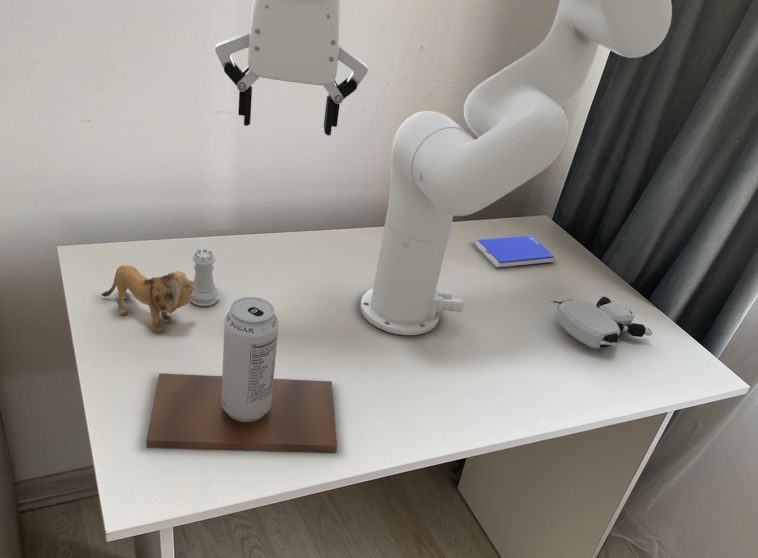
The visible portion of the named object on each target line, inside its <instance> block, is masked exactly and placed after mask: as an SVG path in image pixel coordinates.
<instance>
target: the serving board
mask: <svg viewBox="0 0 758 558" xmlns="http://www.w3.org/2000/svg"><path fill="white" fill-rule="evenodd" d="M155 388H156V390H155V395H154V399H153V403H152V407H151V408H152V409H151V415H150V419H149V424H148V429H147V435H146V440H145V444H146V445H145V446H146V448H147V449H148V448H150V449H151V448H152V449H154V448H155V449H156V448H157V449H186V450H187V449H189V450H190V449H192V450H225V451H226V450H228V451H229V450H230V451H265V452H266V451H268V452H269V451H270V452H300V453H301V452H304V453H306V452H308V453H337V451H338V439H337V438H338V437H337V427H336V416H335V406H334V404H335V403H334V392H333V382H332V380H309V379H292V378H291V379H290V378H274V379H273V390H272V401H271V407H270V409H269V411H268V412H267V413H266V414H264V416H263V417H261V418H260V419H258V420H256V421H252V422H242V421H238V420H235V419H233V418H231V417H230V416H229V415H228V414H227V412H226V411H225V410H224V409H223V407H222V403H221V400H222V375H205V374H203V375H202V374H186V373H185V374H182V373H163V372H161V373H160V372H159V373H158V378H157V383H156V387H155Z"/></svg>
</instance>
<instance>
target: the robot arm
mask: <svg viewBox="0 0 758 558" xmlns="http://www.w3.org/2000/svg"><path fill="white" fill-rule="evenodd" d="M556 10H557V11H556V14H555V17H554V21H553V23H552V26H551V28H550V30H549V32H548V34H547V36H546V37H545V39H543V41H542V42H541V43H539V45H537V46H536V47H535V48H533V49H532V50H530V51H529V52H528V53H526V54H525V55H524V56H522V57H520V58H519V59H517V60H516V61H514V62H512V63H511V64H509V65H508V66H506V67H504V68H503V69H500V70H499V71H498V72H496V73H495V74H493V75H491V76H489V77H487V79H485V80H483V81H482V82H481V83H479V84H478V85H477V86H476V87H474V88H473V89H472V90H471V92H470V93H469V94H468V95H467V97H466V99H465V100H464V101H465V102H464V105H463V117H464V120H465V122H466V124H467V126H468V128H469V129H470V130H471V131H472V133H474V135H475V136H476V137H477V138H474V137H473V136H472V135H470V134H469V133H468V132H467V131H466V130H465V129H464V128H463V127H462V126H460V125H459V124H458V123H457V122H455V120H453V119H452V118H451V117H449V116H447V115H445V114H444V113H440V112H439V111H434V110H422V111H418V112H416V113H413V114H412V115H410V116H408V117H407V118H406V119H405V120H404V121H403V122H402V123H401V124H400V126H399V127H398V129H397V130H396V133H395V136H394V138H393V141H392V148H391V158H390V190H389V197H388V204H387V210H386V215H385V220H384V226H383V232H382V236H381V237H382V238H381V242H380V248H379V252H378V253H379V254H378V260H377V265H376V271H375V275H374V276H375V277H374V281H373V287H372V288H370V289H368V290H367V291H365V293H364V294H363V295H362V297H361V299H360V305H359V306H360V308H359V309H360V312H361V315H363V317H364V319H366V320H367V321H368V323H370V324H371V325H373V326H374V327H375V328H378V329H380V330H382V331H385V332H388V333H391V334H395V335H400V336H417V335H422V334H426V333H428V332H430V331H432V330H433V329H434V328H436V326H437V325H438V323H439V320H440V315H441V313H443V311H446V312H447V311H448V312H455V313H462V311H463V309H464V308H463V307H464V303H463V300H462V299H456V298H453V292H451V291H438V289H437V286H438V283H439V278H440V274H441V270H442V267H443V261H444V257H445V253H446V248H447V245H448V241H449V236H450V234H451V228H452V224H453V220H454V217H465V216H469V215H472V214H475V213H477V212H479V211H481V210H483V209H485V208H486V207H488V206H490V205H491V204H493V203H495V202H496V201H498V200H500V199H501V198H503V197H504V196H506V195H507V194H509V193H511V192H513V191H514V190H516V189H517V188H519V187H520V186H522V185H523V184H525V183H527V182H528V181H530V180H531V179H534V178H535V177H536V176H538V175H539V174H540V173H542V172H543V171H545V170H546V169H547V168H548V167H549V166H550V165H552V163H554V161H555V160H556V159H557V158H558V156H559V155H560V154H561V152H562V151H563V148H564V146H565V144H566V142H567V139H568V136H569V135H568V134H569V122H568V121H569V120H568V117H567V115H566V113H565V111H564V109H563V108H562V107H563V106H565V105H566V104H567V103H569V102H570V101H571V100H573V99H574V98H576V96H577V95H578V94H580V93H581V91H582V90H583V89H584V87H585V86H586V85H587V82H588V81H589V77H590V75H591V72H592V69H593V65H594V62H595V59H596V55H597V52H598V49H599V47H600V46H602V47H603V48H606V49H607V50H609V51H611V52H613V53H615V54H616V55H619V56H621V57H625V58H629V59H630V58H632V59H633V58H637V59H638V58H641V57H645V56H647V55H649V54H650V53H652V52H653V51H655V50H656V49H657V48H658V47H660V45H661V44H662V42H664V39H665V38H666V36H667V34H668V33H669V30H670V27H671V23H672V18H673V4H672V0H559V2H558V7H557V9H556ZM249 21H250V22H249V29H248V30H249V31H247V32H244V33H242V34H239V35H235V36H233V37H231V38H229V39H225V40H223V41H220V42H218V43H217V44H216V45H215V48H214V49H215V50H214V51H215V53H216V56H217V58H218V60H219V62H220V64H221V66H222V68H223V71H224V73H225V75H227V77H228V78H229V80H231V82H232V83H233V84H234V85H235V86H236V88H237V90H238V91H239V92H238V112H237V113H238V116H243V126H246V127H248V126H250V125H251V117H252V98H253V97H252V96H253V86H252V85H253V84H254V83H256V82H257V80H259V78H262V79H268V80H274V81H281V82H289V83H298V84H305V85H312V86H313V85H314V86H323V87H324V89H325V90H326V92H327V93H328V95H327V96H326V102H325V110H324V118H323V131H324V134H325V135H326V136H331V135H332V127H334V128H336V127H338V122H339V121H338V120H339V113H340V105H341V104H342V103H343V101H344V100H345V99H346V98H347V97H348V96H350V95H351V94H353V93H354V92H356V90H357V89H358V86H359V85H360V84H361V82H362V81H363V79H365V77H366V75H367V74H368V71H369V69H368V66H367V64H366V63H365V62H364V61H362V60H361V59H359V58H358V57H357V56H355V55H354V54H352V53H351V52H350V51H349V50H347V49H346V48H344V47H343V46H342V45H340V41H341V40H340V38H341V0H252V3H251V12H250V20H249ZM599 45H600V46H599ZM244 49H247V61H248V62H247V66H246V67H245V68H244V69H243V70H242V69H241V68H240V67H239V66H238V65H237V64H236V63H235V62H234V60H233V57H232V54H233V53H237V52H239V51H242V50H244ZM339 62H341V64H343V65H345V66H346V67H348V68H349V69H351V73H350V74H349V76H348V77H346V78H345V79H344V80H343V81H342V82H340V83H338V82H337V80H336V78H337V73H338V66H339Z"/></svg>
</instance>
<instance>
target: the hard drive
mask: <svg viewBox="0 0 758 558" xmlns="http://www.w3.org/2000/svg"><path fill="white" fill-rule="evenodd" d="M475 247H476V248H477V249H478V250H479V251H480V252H482V254H483V255H484V256H485V257H486V258H487V259H488V260H489V261H490V262H491V263H492V264H493V266H495V267H496V268H505V267H506V268H507V267H516V266H524V265H535V264H544V263H545V264H546V263H553V261H554V259H555V255H554V254H553V253H552V252H551V251H550V250H548V248H547V247H545V245H543V244H542V243H541V242H540V241H539V240H538V239H537V238H536V237H535V236H533V235H532V234H529V235H517V236H506V237H495V238H480V239H476V243H475Z"/></svg>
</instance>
